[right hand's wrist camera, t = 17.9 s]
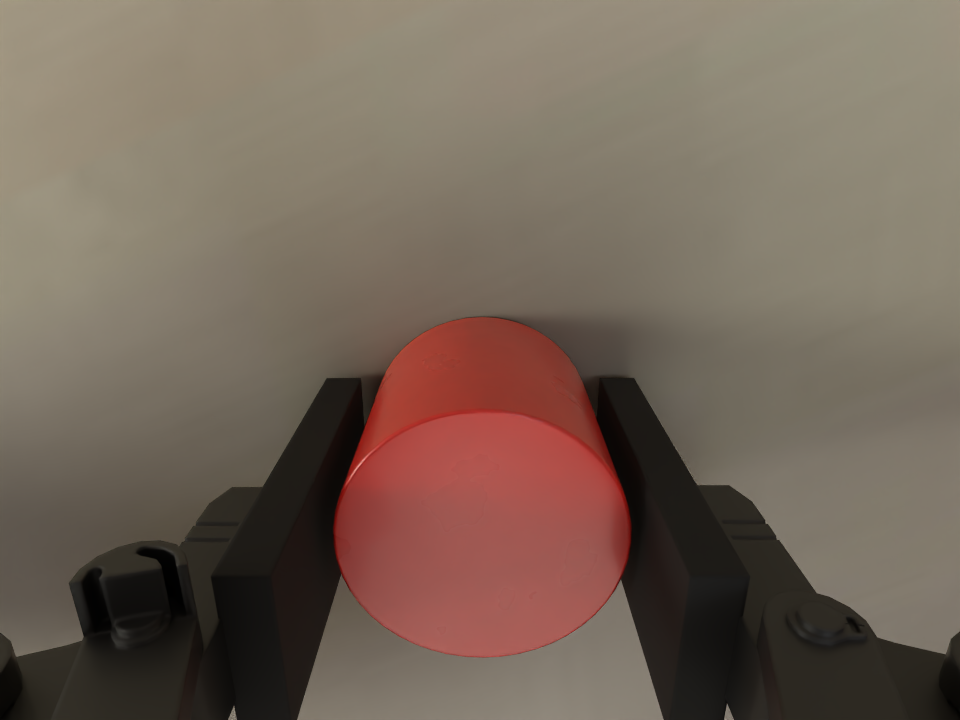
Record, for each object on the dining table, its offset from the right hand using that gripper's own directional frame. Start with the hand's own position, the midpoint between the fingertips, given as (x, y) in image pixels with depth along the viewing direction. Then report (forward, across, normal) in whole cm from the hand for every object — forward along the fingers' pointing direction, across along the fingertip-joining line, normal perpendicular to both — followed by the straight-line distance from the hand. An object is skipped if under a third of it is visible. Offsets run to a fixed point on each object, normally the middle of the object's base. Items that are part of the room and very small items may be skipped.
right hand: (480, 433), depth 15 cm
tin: (0, 0, 0) cm, 0 cm away
